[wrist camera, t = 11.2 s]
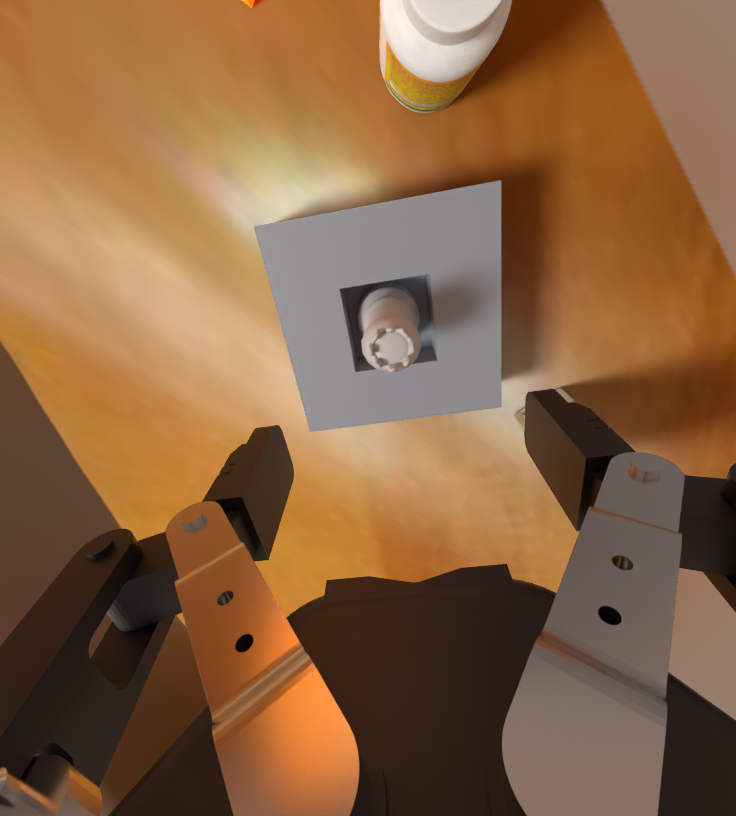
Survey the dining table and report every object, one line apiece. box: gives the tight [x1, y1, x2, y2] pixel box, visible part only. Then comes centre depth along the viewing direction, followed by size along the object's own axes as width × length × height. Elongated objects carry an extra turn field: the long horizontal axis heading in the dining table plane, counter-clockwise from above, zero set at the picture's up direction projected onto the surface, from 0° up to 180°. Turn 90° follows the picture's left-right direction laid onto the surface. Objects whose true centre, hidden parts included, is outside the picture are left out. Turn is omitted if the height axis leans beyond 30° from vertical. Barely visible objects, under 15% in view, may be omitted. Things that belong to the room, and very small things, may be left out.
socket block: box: [254, 180, 501, 432], centre depth 26 cm, size 14×14×4 cm
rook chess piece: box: [357, 283, 421, 373], centre depth 23 cm, size 4×4×8 cm
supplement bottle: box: [379, 0, 512, 113], centre depth 17 cm, size 5×5×10 cm
